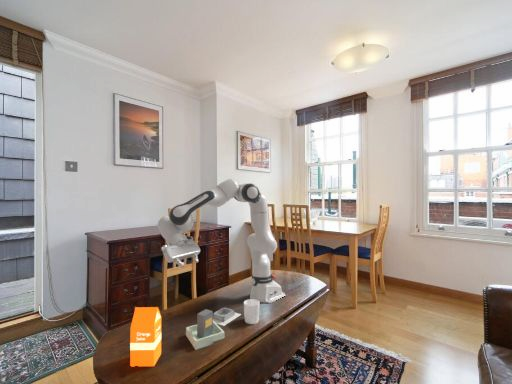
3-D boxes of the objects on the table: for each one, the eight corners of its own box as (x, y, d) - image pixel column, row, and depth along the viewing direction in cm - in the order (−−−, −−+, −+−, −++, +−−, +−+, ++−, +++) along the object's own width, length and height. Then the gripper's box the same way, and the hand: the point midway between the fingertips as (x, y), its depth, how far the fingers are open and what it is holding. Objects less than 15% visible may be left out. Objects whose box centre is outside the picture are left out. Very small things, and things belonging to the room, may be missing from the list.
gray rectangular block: (206, 331, 116) (206, 309, 117) (213, 333, 114) (213, 311, 114) (197, 336, 112) (197, 313, 112) (204, 339, 110) (204, 316, 110)
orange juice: (154, 366, 94) (154, 311, 94) (129, 366, 94) (130, 311, 94) (161, 353, 102) (161, 302, 102) (139, 353, 102) (139, 303, 102)
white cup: (240, 322, 127) (240, 301, 127) (252, 317, 132) (252, 297, 132) (250, 328, 121) (250, 307, 121) (262, 323, 126) (262, 302, 126)
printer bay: (223, 310, 140) (223, 304, 140) (241, 316, 133) (241, 309, 133) (205, 321, 128) (205, 314, 128) (224, 328, 121) (224, 320, 121)
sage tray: (212, 327, 122) (212, 319, 122) (224, 340, 111) (224, 332, 111) (185, 335, 115) (185, 327, 115) (195, 349, 104) (195, 341, 104)
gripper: (162, 242, 122) (176, 265, 117) (194, 236, 140) (207, 256, 134) (156, 250, 125) (170, 273, 119) (188, 243, 142) (201, 263, 137)
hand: (190, 264), depth 127 cm, fingers open, 8 cm apart
